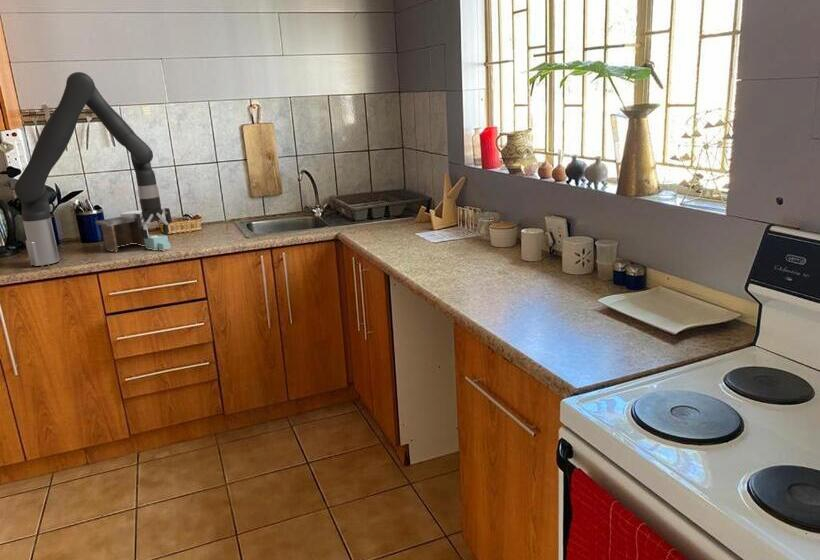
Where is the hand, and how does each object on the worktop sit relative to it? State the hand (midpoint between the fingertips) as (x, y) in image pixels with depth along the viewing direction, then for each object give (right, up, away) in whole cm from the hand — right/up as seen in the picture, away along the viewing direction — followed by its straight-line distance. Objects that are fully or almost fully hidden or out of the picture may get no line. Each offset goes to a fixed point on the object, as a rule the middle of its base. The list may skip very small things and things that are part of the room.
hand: (156, 236), depth 264 cm
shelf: (-14, -4, +5) cm, 16 cm away
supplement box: (-15, -1, +19) cm, 24 cm away
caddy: (+1, -5, 0) cm, 5 cm away
